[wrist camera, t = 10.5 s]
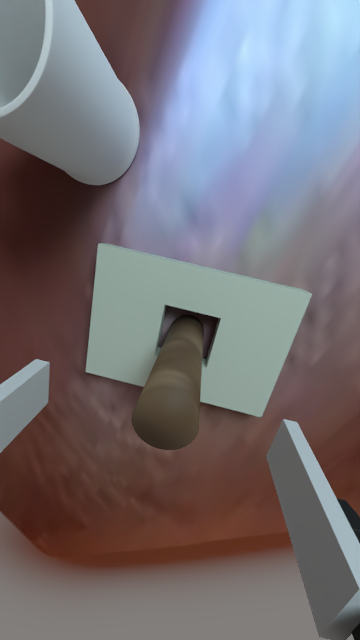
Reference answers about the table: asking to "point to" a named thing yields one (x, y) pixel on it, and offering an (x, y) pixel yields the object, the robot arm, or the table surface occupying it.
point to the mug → (63, 92)
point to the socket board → (198, 296)
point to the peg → (173, 389)
